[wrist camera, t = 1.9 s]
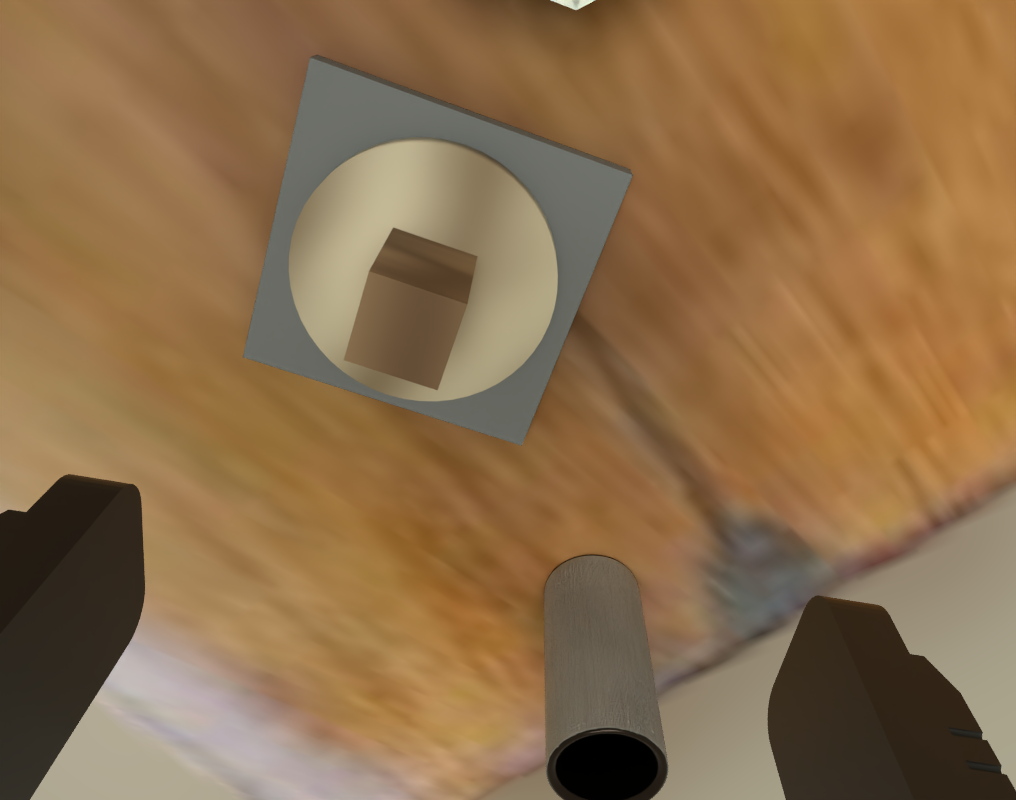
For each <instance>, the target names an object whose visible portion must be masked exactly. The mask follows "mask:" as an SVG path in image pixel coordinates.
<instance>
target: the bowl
mask: <svg viewBox="0 0 1016 800" xmlns="http://www.w3.org/2000/svg"><path fill="white" fill-rule="evenodd" d="M551 1H554V2H556V3H559V4H562V5H564V6H567V7H569V8H572V9H574V10H578V9H580V8H582V7H583V6H585V5H587V4H589V3H591V2H593V1H595V0H551Z"/></svg>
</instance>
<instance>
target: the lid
mask: <svg viewBox="0 0 1016 800" xmlns="http://www.w3.org/2000/svg"><path fill="white" fill-rule="evenodd" d="M289 278H290V287H291V291H292V295H293V299H294V303H295V306H296V309H297V311H298V314H299V316H300V319H301V321H302V323H303V325H304V326H305V328H306V330H307V332H308V334H309V335H310V337H311V338H312V339H313V341H314V342H315V344H316V345H317V346H318V348H319V349H320V350H321V351H322V352H323V353H324V354H325V356H326V357H327V358H328V359H329V360H330V361H331V362H332V363H333V364H335V365H336V366H337V367H338V368H339V369H340V370H342V371H343V372H344V373H346V374H347V375H349V376H350V377H352V378H353V379H355V380H356V381H358V382H360V383H362V384H364V385H365V386H367V387H369V388H371V389H374V390H376V391H379V392H381V393H384V394H387V395H390V396H394V397H398V398H402V399H408V400H415V401H445V400H454V399H458V398H463V397H467V396H470V395H473V394H476V393H479V392H482V391H484V390H486V389H488V388H490V387H492V386H494V385H496V384H498V383H500V382H501V381H503V380H504V379H505V378H507V377H508V376H510V375H511V374H512V373H514V372H515V371H516V370H517V369H518V368H519V367H520V366H522V365H523V364H524V363H525V361H526V360H527V359H528V358H529V357H530V356H531V354H532V353H533V352H534V351H535V349H536V348H537V346H538V345H539V343H540V342H541V340H542V338H543V336H544V334H545V332H546V330H547V328H548V326H549V324H550V321H551V318H552V314H553V311H554V308H555V302H556V296H557V285H558V270H557V259H556V249H555V245H554V241H553V236H552V232H551V230H550V227H549V225H548V222H547V219H546V217H545V215H544V213H543V211H542V209H541V208H540V206H539V204H538V202H537V200H536V199H535V198H534V196H533V195H532V194H531V192H530V191H529V190H528V188H527V187H526V186H525V185H524V184H523V183H522V182H521V181H520V179H519V178H518V177H517V176H516V175H515V174H514V173H512V172H511V171H510V170H509V169H507V168H506V167H505V166H504V165H502V164H501V163H500V162H498V161H497V160H495V159H493V158H492V157H490V156H489V155H487V154H485V153H483V152H481V151H479V150H477V149H474V148H472V147H470V146H467V145H464V144H461V143H457V142H454V141H450V140H445V139H438V138H431V137H410V138H402V139H394V140H391V141H387V142H383V143H379V144H376V145H374V146H372V147H369V148H367V149H365V150H362V151H360V152H359V153H357V154H355V155H354V156H352V157H350V158H349V159H347V160H346V161H344V162H343V163H342V164H341V165H340V166H338V167H337V168H336V169H335V170H333V171H332V172H331V173H330V174H329V175H328V176H327V177H326V178H325V179H324V180H323V182H322V183H321V184H320V185H319V186H318V187H317V188H316V189H315V190H314V192H313V193H312V195H311V196H310V198H309V199H308V201H307V202H306V204H305V205H304V207H303V209H302V211H301V213H300V215H299V217H298V220H297V222H296V225H295V228H294V232H293V235H292V239H291V245H290V251H289Z"/></svg>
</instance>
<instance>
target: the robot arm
mask: <svg viewBox="0 0 1016 800" xmlns="http://www.w3.org/2000/svg"><path fill="white" fill-rule="evenodd" d="M144 595H145V576H144V553H143V530H142V507H141V496H140V492H139V490H138V488H137V487H136V486H135V485H133V484H127V483H121V482H115V481H109V480H102V479H96V478H90V477H84V476H77V475H70V474H68V475H65V476H63V477H61V478H60V479H59V480H58V481H56V483H55V484H54V485H53V486H52V487H51V488H50V489H49V490H48V491H47V492H46V493H45V494H44V495H43V496H42V497H41V498H40V499H39V500H38V501H37V502H36V503H35V504H34V505H33V506H32V507H31V508H30V509H29V510H28V511H27V512H21V511H14V510H7V511H5V512H3V513H1V514H0V800H30V799H31V797H32V795H33V794H34V792H35V790H36V789H37V788H38V786H39V784H40V783H41V781H42V780H43V778H44V777H45V775H46V773H47V772H48V770H49V769H50V767H51V765H52V764H53V762H54V761H55V759H56V758H57V756H58V754H59V753H60V751H61V750H62V748H63V747H64V745H65V743H66V742H67V740H68V739H69V737H70V736H71V734H72V732H73V731H74V729H75V728H76V726H77V725H78V723H79V721H80V720H81V718H82V717H83V715H84V713H85V712H86V710H87V709H88V707H89V706H90V704H91V702H92V701H93V699H94V698H95V696H96V695H97V693H98V691H99V690H100V688H101V687H102V685H103V684H104V682H105V680H106V679H107V677H108V676H109V674H110V673H111V671H112V669H113V668H114V666H115V665H116V663H117V661H118V660H119V658H120V657H121V655H122V654H123V652H124V650H125V649H126V647H127V646H128V644H129V642H130V641H131V639H132V637H133V635H134V633H135V630H136V628H137V625H138V622H139V619H140V616H141V612H142V608H143V603H144ZM982 733H983V732H982V730H981V729H980V727H979V725H978V723H977V722H976V720H975V718H974V716H973V715H972V713H971V711H970V709H969V708H968V706H967V704H966V702H965V700H964V699H963V697H962V695H961V693H960V692H959V691H958V690H957V689H956V688H955V687H954V686H953V685H952V684H951V683H950V682H949V681H948V680H947V679H946V678H945V677H944V676H943V675H942V674H941V673H940V672H939V671H938V670H937V669H936V668H935V667H934V666H933V665H932V664H931V663H930V662H929V661H928V660H927V659H926V658H925V657H924V656H919V655H912V654H910V653H909V652H908V650H907V648H906V646H905V644H904V642H903V640H902V638H901V637H900V634H899V632H898V631H897V629H896V627H895V625H894V623H893V621H892V619H891V617H890V615H889V614H888V612H887V611H886V610H885V609H884V608H883V607H882V606H879V605H874V604H868V603H862V602H855V601H849V600H843V599H837V598H830V597H824V596H815V597H813V598H812V599H811V600H810V601H809V602H808V604H807V605H806V607H805V609H804V611H803V614H802V616H801V619H800V621H799V624H798V626H797V629H796V631H795V634H794V636H793V639H792V641H791V643H790V646H789V648H788V651H787V653H786V656H785V658H784V661H783V663H782V666H781V668H780V670H779V673H778V675H777V678H776V680H775V683H774V685H773V688H772V692H771V695H770V700H769V707H768V734H769V740H770V744H771V748H772V752H773V755H774V759H775V762H776V766H777V770H778V773H779V777H780V780H781V784H782V787H783V791H784V794H785V798H786V800H1016V791H1015V789H1014V787H1013V785H1012V784H1011V782H1010V780H1009V778H1008V776H1007V775H1005V774H1002V773H1001V764H1000V762H999V761H998V759H997V757H996V755H995V753H994V752H993V750H992V748H991V746H990V745H989V743H988V741H987V740H982Z"/></svg>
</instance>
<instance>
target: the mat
mask: <svg viewBox="0 0 1016 800" xmlns="http://www.w3.org/2000/svg"><path fill="white" fill-rule="evenodd" d="M410 137H431V138H438V139H445V140H450V141H454V142H457V143H461V144H464V145H467V146H470V147H472V148H474V149H477V150H479V151H481V152H483V153H485V154H487V155H489V156H490V157H492V158H493V159H495V160H497V161H498V162H500V163H501V164H502V165H504V166H505V167H506V168H507V169H509V170H510V171H511V172H512V173H514V174H515V175H516V176H517V177H518V178H519V179H520V181H521V182H522V183H523V184H524V185H525V186H526V187H527V188H528V190H529V191H530V192H531V194H532V195H533V196H534V198H535V199H536V200H537V202H538V204H539V206H540V208H541V209H542V211H543V213H544V215H545V217H546V219H547V222H548V225H549V227H550V230H551V232H552V236H553V241H554V245H555V249H556V259H557V270H558V285H557V296H556V302H555V308H554V311H553V314H552V318H551V321H550V324H549V326H548V328H547V330H546V332H545V334H544V336H543V338H542V340H541V342H540V343H539V345H538V346H537V348H536V349H535V351H534V352H533V353H532V354H531V356H530V357H529V358H528V359H527V360H526V361H525V363H524V364H523V365H522V366H520V367H519V368H518V369H517V370H516V371H515V372H514V373H512V374H511V375H510V376H508V377H507V378H505V379H504V380H503V381H501V382H500V383H498V384H496V385H494V386H492V387H490V388H488V389H486V390H484V391H482V392H479V393H476V394H473V395H470V396H467V397H463V398H458V399H454V400H445V401H415V400H408V399H402V398H398V397H394V396H390V395H387V394H384V393H381V392H379V391H376V390H374V389H371V388H369V387H367V386H365V385H364V384H362V383H360V382H358V381H356V380H355V379H353V378H352V377H350V376H349V375H347V374H346V373H344V372H343V371H342V370H340V369H339V368H338V367H337V366H336V365H335V364H333V363H332V362H331V361H330V360H329V359H328V358H327V357H326V356H325V354H324V353H323V352H322V351H321V350H320V349H319V348H318V346H317V345H316V344H315V342H314V341H313V339H312V338H311V337H310V335H309V334H308V332H307V330H306V328H305V326H304V325H303V323H302V321H301V319H300V316H299V314H298V311H297V309H296V306H295V303H294V299H293V295H292V291H291V287H290V278H289V251H290V245H291V239H292V235H293V232H294V228H295V225H296V222H297V220H298V217H299V215H300V213H301V211H302V209H303V207H304V205H305V204H306V202H307V201H308V199H309V198H310V196H311V195H312V193H313V192H314V190H315V189H316V188H317V187H318V186H319V185H320V184H321V183H322V182H323V180H324V179H325V178H326V177H327V176H328V175H329V174H330V173H331V172H332V171H333V170H335V169H336V168H337V167H338V166H340V165H341V164H342V163H343V162H344V161H346V160H347V159H349V158H350V157H352V156H354V155H355V154H357V153H359V152H360V151H362V150H365V149H367V148H369V147H372V146H374V145H376V144H379V143H383V142H387V141H391V140H394V139H402V138H410ZM632 176H633V175H632V172H631V170H630V169H628V168H625V167H622V166H619V165H617V164H614V163H611V162H609V161H606V160H603V159H600V158H598V157H595V156H592V155H589V154H587V153H584V152H581V151H578V150H576V149H573V148H570V147H567V146H565V145H562V144H559V143H557V142H554V141H551V140H548V139H546V138H543V137H540V136H537V135H535V134H532V133H529V132H526V131H524V130H521V129H518V128H516V127H513V126H510V125H507V124H505V123H502V122H499V121H496V120H494V119H491V118H488V117H485V116H483V115H480V114H477V113H475V112H472V111H469V110H466V109H464V108H461V107H458V106H455V105H453V104H450V103H447V102H444V101H442V100H439V99H436V98H434V97H431V96H428V95H425V94H423V93H420V92H417V91H414V90H412V89H409V88H406V87H403V86H401V85H398V84H395V83H393V82H390V81H387V80H384V79H382V78H379V77H376V76H373V75H371V74H368V73H365V72H362V71H360V70H357V69H354V68H352V67H349V66H346V65H343V64H341V63H338V62H335V61H332V60H330V59H327V58H324V57H321V56H319V55H315V56H313V57H310V60H309V65H308V69H307V74H306V78H305V83H304V87H303V92H302V96H301V101H300V105H299V109H298V114H297V118H296V123H295V127H294V132H293V136H292V141H291V145H290V150H289V154H288V159H287V163H286V167H285V172H284V176H283V181H282V185H281V190H280V194H279V199H278V203H277V208H276V212H275V217H274V221H273V225H272V230H271V234H270V239H269V243H268V248H267V252H266V257H265V261H264V266H263V270H262V275H261V279H260V283H259V288H258V292H257V297H256V301H255V306H254V310H253V315H252V319H251V324H250V328H249V333H248V337H247V341H246V346H245V350H244V355H243V357H244V358H247V359H250V360H254V361H257V362H260V363H263V364H266V365H269V366H272V367H276V368H279V369H282V370H285V371H288V372H291V373H295V374H298V375H301V376H304V377H307V378H310V379H313V380H317V381H320V382H323V383H326V384H329V385H332V386H335V387H339V388H342V389H345V390H348V391H351V392H354V393H358V394H361V395H364V396H367V397H370V398H373V399H376V400H380V401H383V402H386V403H389V404H392V405H395V406H398V407H402V408H405V409H408V410H411V411H414V412H417V413H420V414H424V415H427V416H430V417H433V418H436V419H439V420H443V421H446V422H449V423H452V424H455V425H458V426H461V427H465V428H468V429H471V430H474V431H477V432H480V433H483V434H487V435H490V436H493V437H496V438H499V439H502V440H506V441H509V442H512V443H515V444H518V445H521V446H522V444H523V441H524V439H525V436H526V434H527V431H528V429H529V427H530V424H531V422H532V419H533V417H534V414H535V412H536V410H537V407H538V405H539V402H540V400H541V397H542V395H543V393H544V390H545V388H546V385H547V383H548V380H549V378H550V376H551V373H552V371H553V368H554V366H555V363H556V361H557V358H558V356H559V354H560V351H561V349H562V346H563V344H564V341H565V339H566V337H567V334H568V332H569V329H570V327H571V324H572V322H573V320H574V317H575V315H576V312H577V310H578V307H579V305H580V303H581V300H582V298H583V295H584V293H585V290H586V288H587V285H588V283H589V281H590V278H591V276H592V273H593V271H594V268H595V266H596V264H597V261H598V259H599V256H600V254H601V251H602V249H603V247H604V244H605V242H606V239H607V237H608V234H609V232H610V230H611V227H612V225H613V222H614V220H615V217H616V215H617V212H618V210H619V208H620V205H621V203H622V200H623V198H624V195H625V193H626V191H627V188H628V186H629V183H630V181H631V178H632Z"/></svg>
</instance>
